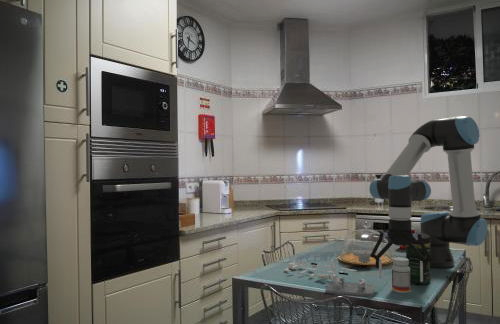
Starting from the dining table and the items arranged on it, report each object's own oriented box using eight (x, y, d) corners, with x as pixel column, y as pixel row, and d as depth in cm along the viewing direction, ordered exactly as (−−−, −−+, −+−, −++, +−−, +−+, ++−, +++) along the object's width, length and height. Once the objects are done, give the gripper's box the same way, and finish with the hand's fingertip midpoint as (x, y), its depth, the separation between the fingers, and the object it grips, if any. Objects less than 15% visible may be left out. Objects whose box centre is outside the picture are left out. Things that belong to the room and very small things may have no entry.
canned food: (413, 250, 211) (413, 229, 211) (397, 248, 216) (397, 228, 216) (416, 247, 218) (416, 227, 218) (401, 246, 222) (400, 226, 222)
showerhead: (355, 251, 174) (351, 247, 184) (355, 268, 174) (351, 263, 184) (377, 252, 174) (372, 247, 183) (377, 268, 173) (372, 263, 183)
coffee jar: (424, 286, 146) (422, 235, 147) (402, 282, 152) (401, 233, 152) (434, 281, 153) (433, 232, 154) (413, 277, 159) (412, 230, 159)
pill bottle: (397, 287, 146) (396, 256, 146) (413, 291, 142) (413, 258, 142) (388, 291, 142) (388, 258, 142) (405, 294, 137) (404, 261, 138)
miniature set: (360, 277, 155) (341, 288, 147) (295, 268, 181) (276, 277, 173) (358, 260, 155) (338, 271, 147) (292, 254, 181) (273, 262, 173)
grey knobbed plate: (375, 287, 147) (374, 277, 147) (373, 297, 135) (373, 286, 135) (330, 283, 152) (330, 274, 152) (325, 292, 141) (325, 282, 141)
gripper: (437, 219, 142) (438, 279, 141) (364, 216, 150) (364, 273, 149) (439, 221, 134) (440, 285, 134) (362, 218, 143) (363, 278, 142)
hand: (400, 279), depth 142 cm, fingers open, 13 cm apart
